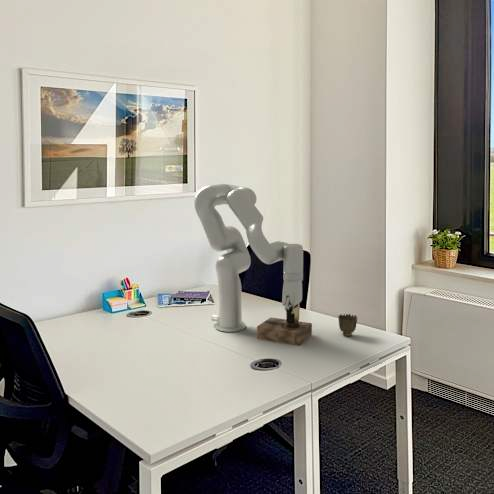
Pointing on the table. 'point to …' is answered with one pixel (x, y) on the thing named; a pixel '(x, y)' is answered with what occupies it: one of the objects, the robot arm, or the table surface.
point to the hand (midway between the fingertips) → (292, 320)
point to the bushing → (296, 312)
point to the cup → (347, 324)
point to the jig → (284, 331)
